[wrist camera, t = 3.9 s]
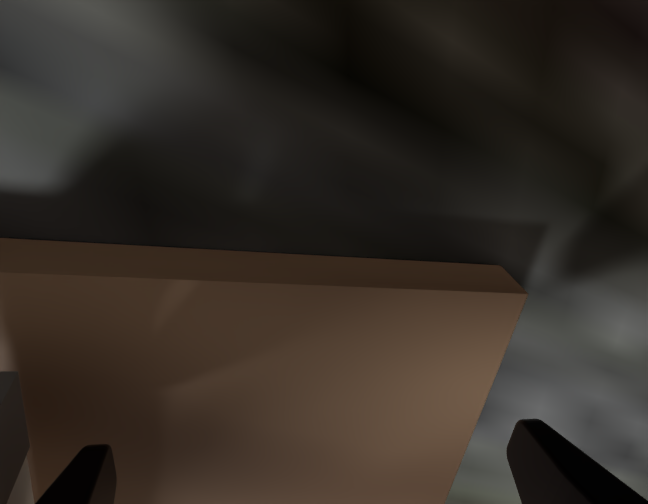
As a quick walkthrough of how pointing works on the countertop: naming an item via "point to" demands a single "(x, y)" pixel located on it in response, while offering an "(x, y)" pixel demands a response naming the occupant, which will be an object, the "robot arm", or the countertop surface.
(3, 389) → the peg
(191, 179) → the countertop surface
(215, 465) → the brown board
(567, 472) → the robot arm
